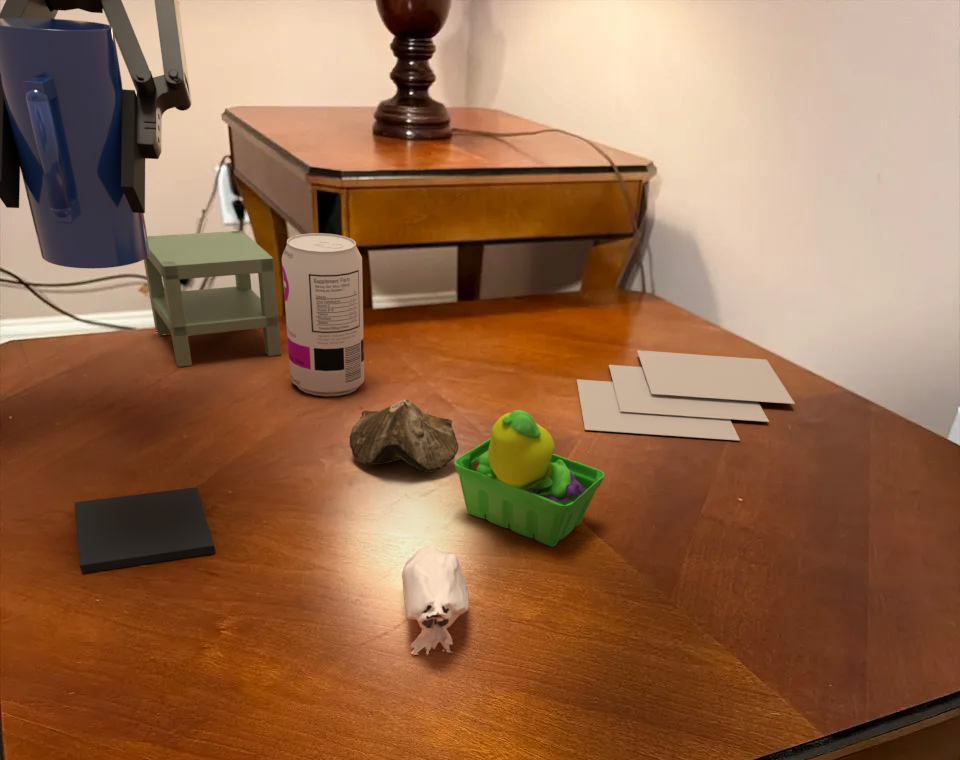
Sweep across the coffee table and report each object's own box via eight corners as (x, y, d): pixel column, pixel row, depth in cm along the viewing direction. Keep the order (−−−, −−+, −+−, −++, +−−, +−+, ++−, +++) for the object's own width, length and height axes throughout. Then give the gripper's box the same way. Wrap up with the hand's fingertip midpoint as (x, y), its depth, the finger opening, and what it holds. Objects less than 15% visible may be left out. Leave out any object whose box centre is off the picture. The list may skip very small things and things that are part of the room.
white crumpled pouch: (483, 661, 63) (460, 560, 69) (475, 604, 58) (451, 500, 64) (416, 674, 63) (399, 572, 69) (402, 618, 58) (384, 512, 63)
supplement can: (279, 391, 95) (267, 246, 86) (308, 365, 101) (300, 228, 92) (349, 403, 94) (344, 257, 85) (374, 376, 100) (372, 237, 91)
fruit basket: (600, 522, 77) (621, 402, 70) (551, 566, 71) (569, 439, 64) (493, 483, 82) (502, 366, 75) (439, 520, 76) (443, 397, 69)
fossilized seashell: (472, 431, 85) (383, 424, 89) (450, 386, 79) (357, 380, 83) (448, 496, 82) (358, 485, 86) (424, 454, 77) (328, 445, 80)
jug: (56, 238, 62) (6, 15, 54) (158, 241, 63) (123, 23, 55) (15, 279, 55) (-50, 28, 47) (131, 282, 56) (87, 36, 47)
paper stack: (816, 446, 93) (819, 439, 92) (584, 429, 92) (585, 423, 92) (765, 364, 111) (766, 359, 111) (571, 350, 110) (572, 345, 110)
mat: (76, 510, 74) (74, 501, 73) (197, 494, 77) (196, 486, 76) (82, 573, 66) (79, 565, 66) (215, 553, 70) (214, 545, 69)
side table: (178, 367, 99) (163, 266, 92) (155, 332, 107) (139, 236, 100) (281, 354, 104) (273, 258, 97) (251, 322, 112) (242, 230, 105)
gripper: (239, -66, 62) (240, 237, 59) (-60, -90, 59) (-71, 225, 57) (221, -175, 54) (222, 166, 52) (-121, -208, 52) (-137, 149, 50)
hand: (69, 197), depth 54 cm, fingers closed on jug, 7 cm apart
